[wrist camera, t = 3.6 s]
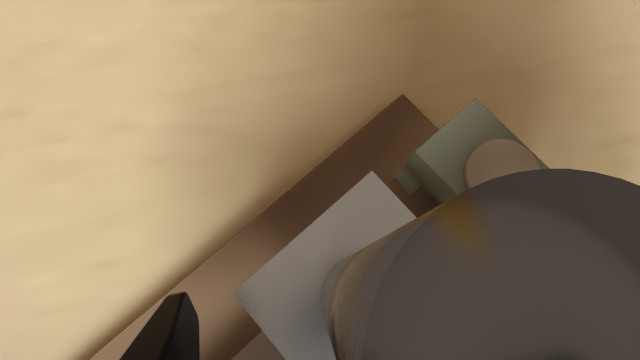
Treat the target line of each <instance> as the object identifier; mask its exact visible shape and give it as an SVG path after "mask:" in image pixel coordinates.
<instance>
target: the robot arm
mask: <svg viewBox="0 0 640 360" xmlns="http://www.w3.org/2000/svg"><path fill="white" fill-rule="evenodd" d="M119 360H200V342H199V319H198V315H197V312H196V310H195V308H194V306H193V304H192V302H191V299H190V297H189V295H188V294H187V293H186V292H184V291H183V292H178V293H174V294H170V295H168V296H166V297H165V299H164V300H163V301H162V303H161V304H160V305H159V307H158V308H157V309H156V311H155V312H154V313H153V315H152V316H151V317H150V319H149V320H148V321H147V323H146V324H145V325H144V327H143V328H142V329H141V331H140V332H139V333H138V335H137V336H136V337H135V339H134V340H133V341H132V343H131V344H130V345H129V347H128V348H127V349H126V351H125V352H124V353H123V355H122V356H121V357H120V359H119Z"/></svg>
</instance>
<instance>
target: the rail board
mask: <svg viewBox="0 0 640 360" xmlns="http://www.w3.org/2000/svg"><path fill="white" fill-rule="evenodd" d="M537 169H549V168H548V167H547V166H546V165H545V164H544V163H543V162H542V161H541V160H540V159H539V158H538V157H537V156H536V155H535V154H534V153H533V152H531V151H530V150H529V149H528V148H527V147H526V146H525V145H524V144H523V143H522V142H521V141H520V140H519V139H518V138H517V137H516V136H515V135H514V134H513V133H512V132H510V131H509V130H508V129H507V128H506V127H505V126H504V125H503V124H502V123H501V122H500V121H499V120H498V119H497V118H496V117H495V116H494V115H493V114H492V113H491V112H489V111H488V110H487V109H486V108H485V107H484V106H483V105H482V104H481V103H480V102H479V101H478V100H477V99H476V98H475V99H473V100H472V101H471V102H470V103H469V104H468V105H467V106H466V107H464V108H463V109H462V110H461V111H460V112H459V113H458V114H457V115H455V116H454V117H453V118H452V119H451V120H450V121H449V122H448V123H447V124H445V125H444V126H443V127H442V128H441V129H440V130H439V129H438V128H437V127H436V126H435V125H434V124H433V123H432V122H431V121H430V120H429V119H428V118H427V117H426V116H425V115H424V114H423V113H422V112H421V111H420V110H419V109H417V108H416V107H415V106H414V105H413V104H412V103H411V102H410V101H409V100H408V99H407V98H406V97H405V96H404V95H403V94H402V95H401V96H400V97H398V98H397V99H396V100H395V101H394V102H393V103H391V104H390V105H389V106H388V107H387V108H386V109H384V110H383V111H382V112H381V113H380V114H378V115H377V116H376V117H375V118H374V119H373V120H371V121H370V122H369V123H368V124H367V125H365V126H364V127H363V128H362V129H361V130H360V131H358V132H357V133H356V134H355V135H354V136H352V137H351V138H350V139H349V140H348V141H347V142H345V143H344V144H343V145H342V146H341V147H339V148H338V149H337V150H336V151H335V152H334V153H332V154H331V155H330V156H329V157H328V158H326V159H325V160H324V161H323V162H322V163H321V164H319V165H318V166H317V167H316V168H315V169H314V170H312V171H311V172H310V173H309V174H308V175H306V176H305V177H304V178H303V179H302V180H301V181H299V182H298V183H297V184H296V185H295V186H293V187H292V188H291V189H290V190H289V191H288V192H286V193H285V194H284V195H283V196H282V197H280V198H279V199H278V200H277V201H276V202H275V203H273V204H272V205H271V206H270V207H269V208H267V209H266V210H265V211H264V212H263V213H262V214H260V215H259V216H258V217H257V218H256V219H254V220H253V221H252V222H251V223H250V224H249V225H247V226H246V227H245V228H244V229H243V230H241V231H240V232H239V233H238V234H237V235H236V236H234V237H233V238H232V239H231V240H230V241H229V242H227V243H226V244H225V245H224V246H223V247H221V248H220V249H219V250H218V251H217V252H216V253H214V254H213V255H212V256H211V257H210V258H208V259H207V260H206V261H205V262H204V263H203V264H201V265H200V266H199V267H198V268H197V269H195V270H194V271H193V272H192V273H191V274H190V275H188V276H187V277H186V278H185V279H184V280H182V281H181V282H180V283H179V284H178V285H177V286H175V287H174V288H173V289H172V290H171V291H169V292H168V293H167V294H166V295H165V296H164V297H162V298H161V299H160V300H159V301H158V302H157V303H155V304H154V305H153V306H152V307H151V308H149V309H148V310H147V311H146V312H145V313H144V314H142V315H141V316H140V317H139V318H138V319H136V320H135V321H134V322H133V323H132V324H131V325H129V326H128V327H127V328H126V329H125V330H123V331H122V332H121V333H120V334H119V335H118V336H116V337H115V338H114V339H113V340H112V341H110V342H109V343H108V344H107V345H106V346H105V347H103V348H102V349H101V350H100V351H99V352H97V353H96V354H95V355H94V356H93V357H92V358H90V359H89V360H119V359H120V357H121V356H122V355H123V353H124V352H125V351H126V349H127V348H128V347H129V345H130V344H131V343H132V341H133V340H134V339H135V337H136V336H137V335H138V333H139V332H140V331H141V329H142V328H143V327H144V325H145V324H146V323H147V321H148V320H149V319H150V317H151V316H152V315H153V313H154V312H155V311H156V309H157V308H158V307H159V305H160V304H161V303H162V301H163V300H164V299H165V297H166V296H168V295H170V294H174V293H178V292H183V291H184V292H186V293H187V294H188V295H189V297H190V299H191V302H192V304H193V306H194V308H195V310H196V312H197V315H198V319H199V342H200V360H286V359H285V358H284V357H283V355H282V354H281V353H280V352H279V350H278V349H277V348H276V347H275V345H274V344H273V343H272V342H271V340H270V339H269V338H268V337H267V335H266V334H265V333H264V332H263V331H262V329H261V328H260V327H259V326H258V324H257V323H256V322H255V321H254V319H253V318H252V317H251V316H250V314H249V313H248V312H247V311H246V309H245V308H244V307H243V306H242V305H241V303H240V302H239V301H238V300H237V298H236V297H235V296H234V295H233V292H234V291H235V290H237V289H238V288H239V287H240V286H241V285H242V284H243V283H245V282H246V281H247V280H248V279H249V278H250V277H251V276H253V275H254V274H255V273H256V272H257V271H258V270H259V269H261V268H262V267H263V266H264V265H265V264H266V263H267V262H268V261H270V260H271V259H272V258H273V257H274V256H275V255H276V254H278V253H279V252H280V251H281V250H282V249H283V248H284V247H286V246H287V245H288V244H289V243H290V242H291V241H292V240H293V239H295V238H296V237H297V236H298V235H299V234H300V233H301V232H303V231H304V230H305V229H306V228H307V227H308V226H309V225H311V224H312V223H313V222H314V221H315V220H316V219H317V218H319V217H320V216H321V215H322V214H323V213H324V212H325V211H326V210H328V209H329V208H330V207H331V206H332V205H333V204H334V203H336V202H337V201H338V200H339V199H340V198H341V197H342V196H344V195H345V194H346V193H347V192H348V191H349V190H350V189H352V188H353V187H354V186H355V185H356V184H357V183H358V182H359V181H361V180H362V179H363V178H364V177H365V176H366V175H367V174H369V173H370V172H371V171H373V172H374V173H375V174H376V175H377V176H378V177H379V178H380V180H381V181H382V182H383V183H384V184H385V185H386V186H387V187H388V188H389V189H390V190H391V191H392V192H393V193H394V194H395V195H396V196H397V197H398V199H399V200H400V201H401V202H402V203H403V204H404V205H405V206H406V207H407V208H408V209H409V210H410V211H411V212H412V213H413V214H414V215H415V216H416V218H418V217H419V216H421V215H423V214H425V213H426V212H428V211H430V210H432V209H434V208H435V207H437V206H439V205H441V204H442V203H444V202H446V201H448V200H450V199H451V198H453V197H455V196H457V195H458V194H460V193H462V192H464V191H466V190H467V189H469V188H472V187H474V186H476V185H479V184H481V183H483V182H486V181H488V180H490V179H493V178H497V177H501V176H504V175H508V174H512V173H515V172H522V171H529V170H537Z"/></svg>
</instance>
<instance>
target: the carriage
mask: <svg viewBox="0 0 640 360" xmlns="http://www.w3.org/2000/svg"><path fill="white" fill-rule="evenodd" d="M233 295H234V296H235V297H236V298H237V300H238V301H239V302H240V303H241V305H242V306H243V307H244V308H245V309H246V311H247V312H248V313H249V314H250V316H251V317H252V318H253V319H254V321H255V322H256V323H257V324H258V326H259V327H260V328H261V329H262V331H263V332H264V333H265V334H266V335H267V337H268V338H269V339H270V340H271V342H272V343H273V344H274V345H275V347H276V348H277V349H278V350H279V352H280V353H281V354H282V355H283V357H284V358H285V359H286V360H640V186H638V185H636V184H633V183H631V182H628V181H625V180H623V179H620V178H616V177H612V176H608V175H604V174H600V173H596V172H589V171H581V170H573V169H537V170H529V171H522V172H515V173H512V174H508V175H504V176H501V177H497V178H493V179H490V180H488V181H486V182H483V183H481V184H479V185H476V186H474V187H472V188H469V189H467V190H466V191H464V192H462V193H460V194H458V195H457V196H455V197H453V198H451V199H450V200H448V201H446V202H444V203H442V204H441V205H439V206H437V207H435V208H434V209H432V210H430V211H428V212H426V213H425V214H423V215H421V216H419V217H418V218H416V216H415V215H414V214H413V213H412V212H411V211H410V210H409V209H408V208H407V207H406V206H405V205H404V204H403V203H402V202H401V201H400V200H399V199H398V197H397V196H396V195H395V194H394V193H393V192H392V191H391V190H390V189H389V188H388V187H387V186H386V185H385V184H384V183H383V182H382V181H381V180H380V178H379V177H378V176H377V175H376V174H375V173H374V172H373V171H371V172H370V173H369V174H367V175H366V176H365V177H364V178H363V179H362V180H361V181H359V182H358V183H357V184H356V185H355V186H354V187H353V188H352V189H350V190H349V191H348V192H347V193H346V194H345V195H344V196H342V197H341V198H340V199H339V200H338V201H337V202H336V203H334V204H333V205H332V206H331V207H330V208H329V209H328V210H326V211H325V212H324V213H323V214H322V215H321V216H320V217H319V218H317V219H316V220H315V221H314V222H313V223H312V224H311V225H309V226H308V227H307V228H306V229H305V230H304V231H303V232H301V233H300V234H299V235H298V236H297V237H296V238H295V239H293V240H292V241H291V242H290V243H289V244H288V245H287V246H286V247H284V248H283V249H282V250H281V251H280V252H279V253H278V254H276V255H275V256H274V257H273V258H272V259H271V260H270V261H268V262H267V263H266V264H265V265H264V266H263V267H262V268H261V269H259V270H258V271H257V272H256V273H255V274H254V275H253V276H251V277H250V278H249V279H248V280H247V281H246V282H245V283H243V284H242V285H241V286H240V287H239V288H238V289H237V290H235V291H234V292H233Z"/></svg>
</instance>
